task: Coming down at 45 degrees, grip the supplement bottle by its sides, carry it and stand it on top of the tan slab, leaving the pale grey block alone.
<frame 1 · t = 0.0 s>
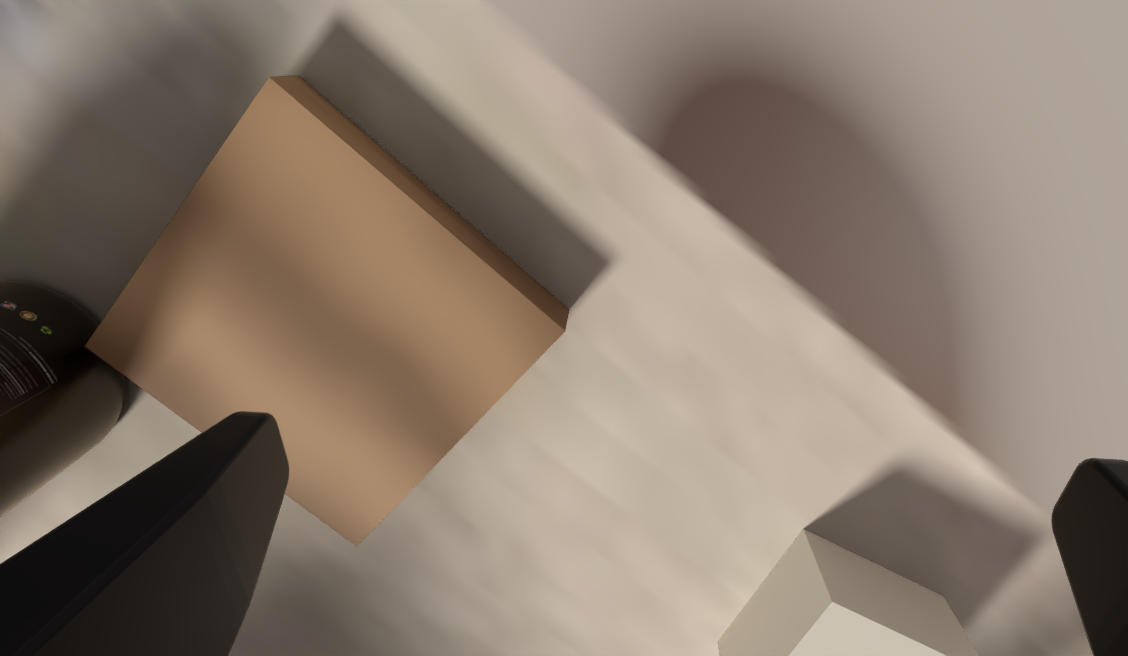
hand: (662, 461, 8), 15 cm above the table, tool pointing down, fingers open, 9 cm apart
supplement bottle: (45, 362, 26), on the table
grey block: (825, 615, 28), on the table
tan slab: (340, 317, 25), on the table
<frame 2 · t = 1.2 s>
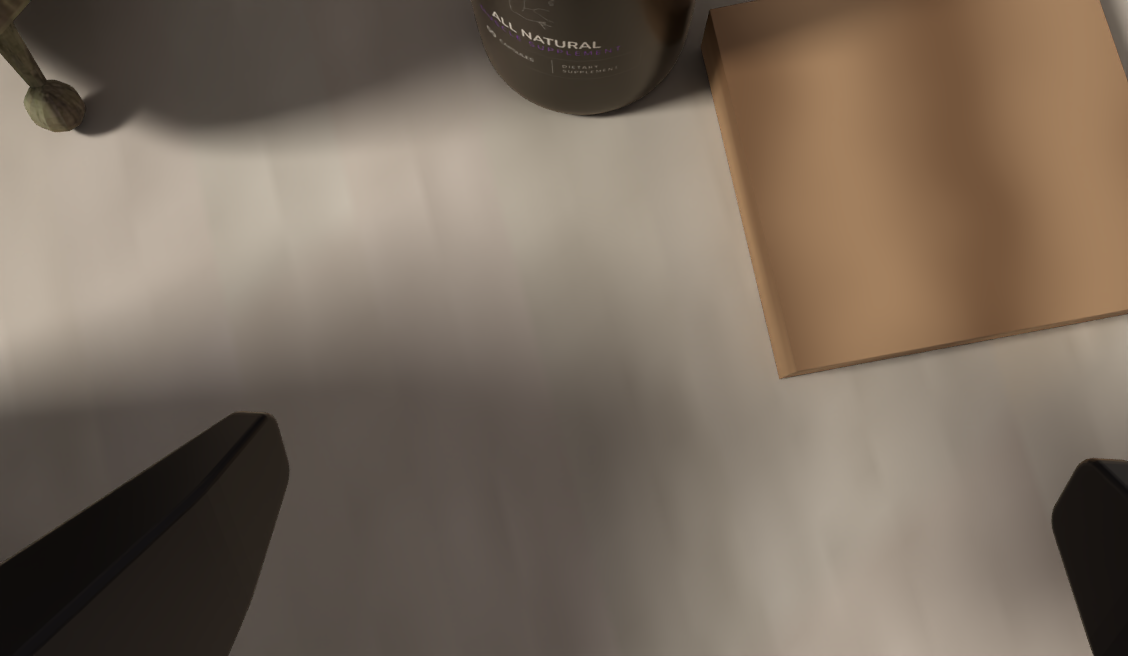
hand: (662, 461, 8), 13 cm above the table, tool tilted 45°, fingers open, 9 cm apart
supplement bottle: (586, 29, 24), on the table
tan slab: (913, 172, 23), on the table
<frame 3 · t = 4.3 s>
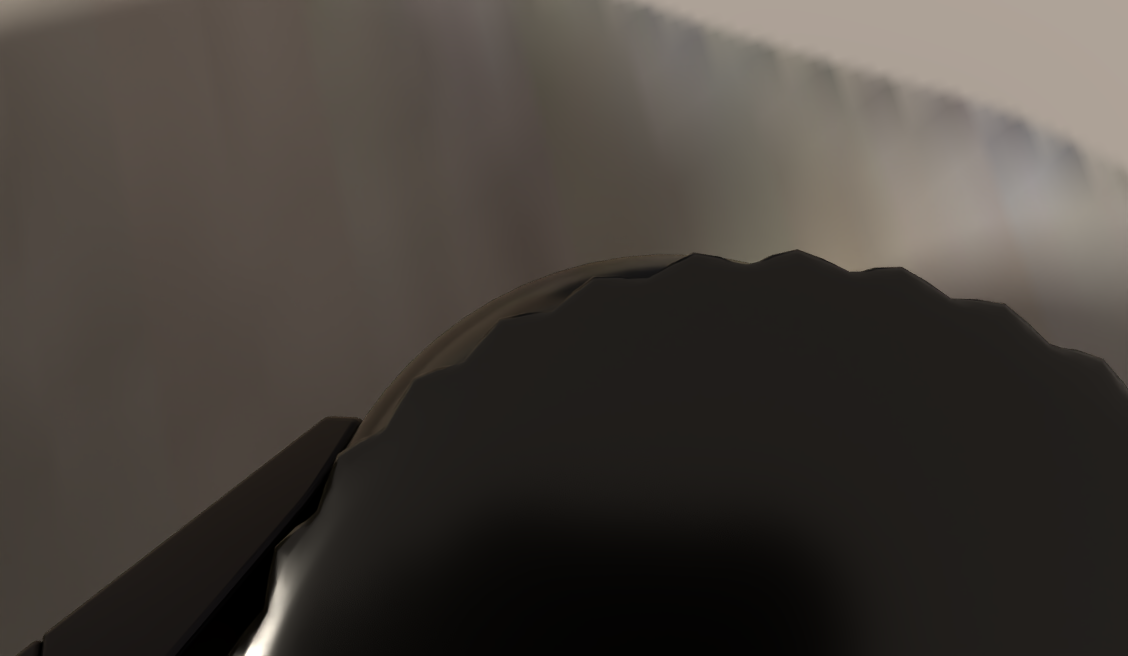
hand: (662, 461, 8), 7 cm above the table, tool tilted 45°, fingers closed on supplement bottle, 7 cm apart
supplement bottle: (628, 532, 15), on the table, touching gripper
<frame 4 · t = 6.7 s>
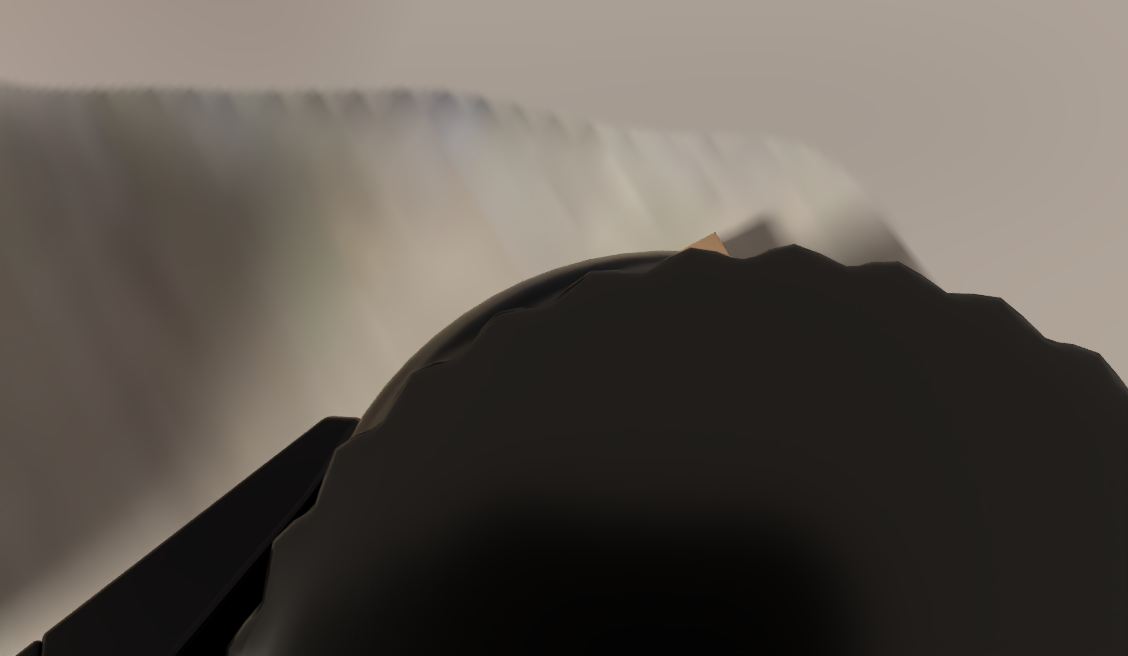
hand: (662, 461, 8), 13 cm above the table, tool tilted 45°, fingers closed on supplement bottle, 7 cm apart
supplement bottle: (628, 529, 15), point 6 cm above the table, touching gripper
tan slab: (634, 502, 21), on the table
when the fingers open (9 cm above the table, at t = 9.0 s): supplement bottle stays where it is, resting on tan slab.
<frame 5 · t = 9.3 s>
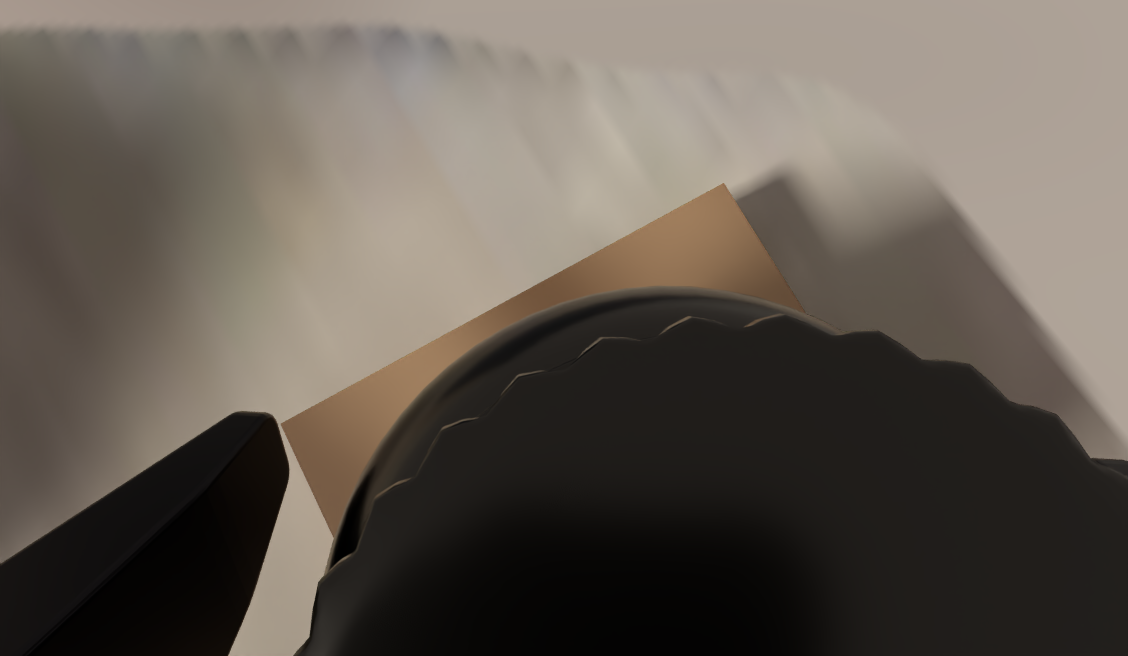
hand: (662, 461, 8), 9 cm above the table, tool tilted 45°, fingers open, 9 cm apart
supplement bottle: (628, 539, 15), point 2 cm above the table, touching tan slab
tan slab: (626, 522, 17), on the table
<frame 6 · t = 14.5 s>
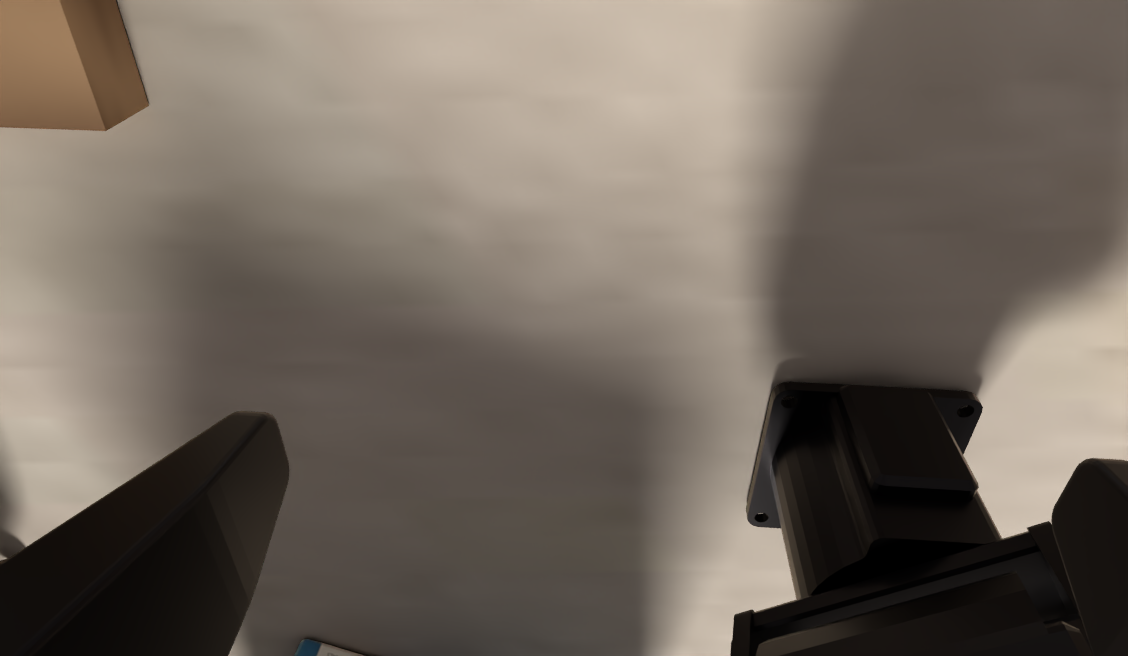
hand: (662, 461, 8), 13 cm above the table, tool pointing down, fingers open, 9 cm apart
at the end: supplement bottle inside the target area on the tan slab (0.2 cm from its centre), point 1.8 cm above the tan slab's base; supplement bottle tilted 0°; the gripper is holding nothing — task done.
